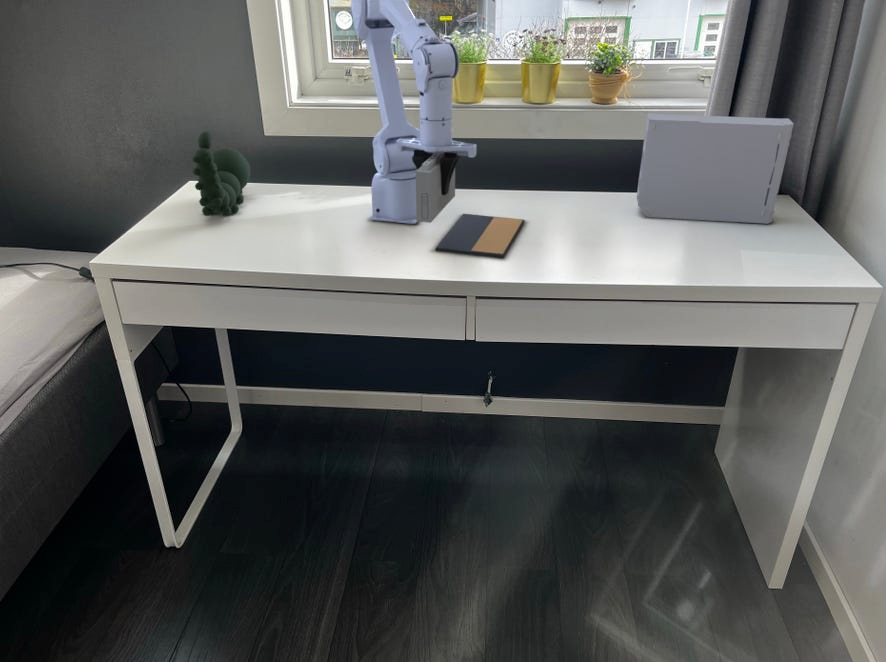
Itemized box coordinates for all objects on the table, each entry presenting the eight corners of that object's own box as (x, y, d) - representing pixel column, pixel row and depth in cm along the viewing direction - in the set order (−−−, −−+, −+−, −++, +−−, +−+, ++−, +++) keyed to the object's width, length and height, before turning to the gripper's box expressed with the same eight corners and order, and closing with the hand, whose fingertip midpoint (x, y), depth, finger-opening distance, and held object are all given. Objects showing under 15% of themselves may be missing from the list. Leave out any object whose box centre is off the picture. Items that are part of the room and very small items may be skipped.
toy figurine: (238, 233, 154) (260, 185, 174) (223, 141, 143) (247, 102, 163) (191, 233, 153) (218, 185, 174) (172, 142, 142) (203, 102, 163)
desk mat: (435, 251, 142) (435, 247, 141) (463, 216, 158) (463, 213, 158) (503, 258, 138) (503, 255, 138) (524, 222, 155) (524, 219, 155)
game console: (773, 225, 154) (796, 125, 144) (636, 217, 158) (649, 119, 148) (767, 215, 159) (789, 118, 149) (635, 208, 163) (647, 113, 153)
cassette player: (441, 194, 149) (441, 143, 143) (455, 196, 148) (455, 144, 143) (416, 221, 136) (415, 165, 131) (430, 222, 135) (430, 167, 130)
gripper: (389, 119, 132) (392, 195, 139) (469, 125, 128) (468, 202, 135) (402, 111, 138) (404, 184, 145) (480, 116, 134) (478, 191, 141)
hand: (436, 192), depth 140 cm, fingers closed on cassette player, 3 cm apart
